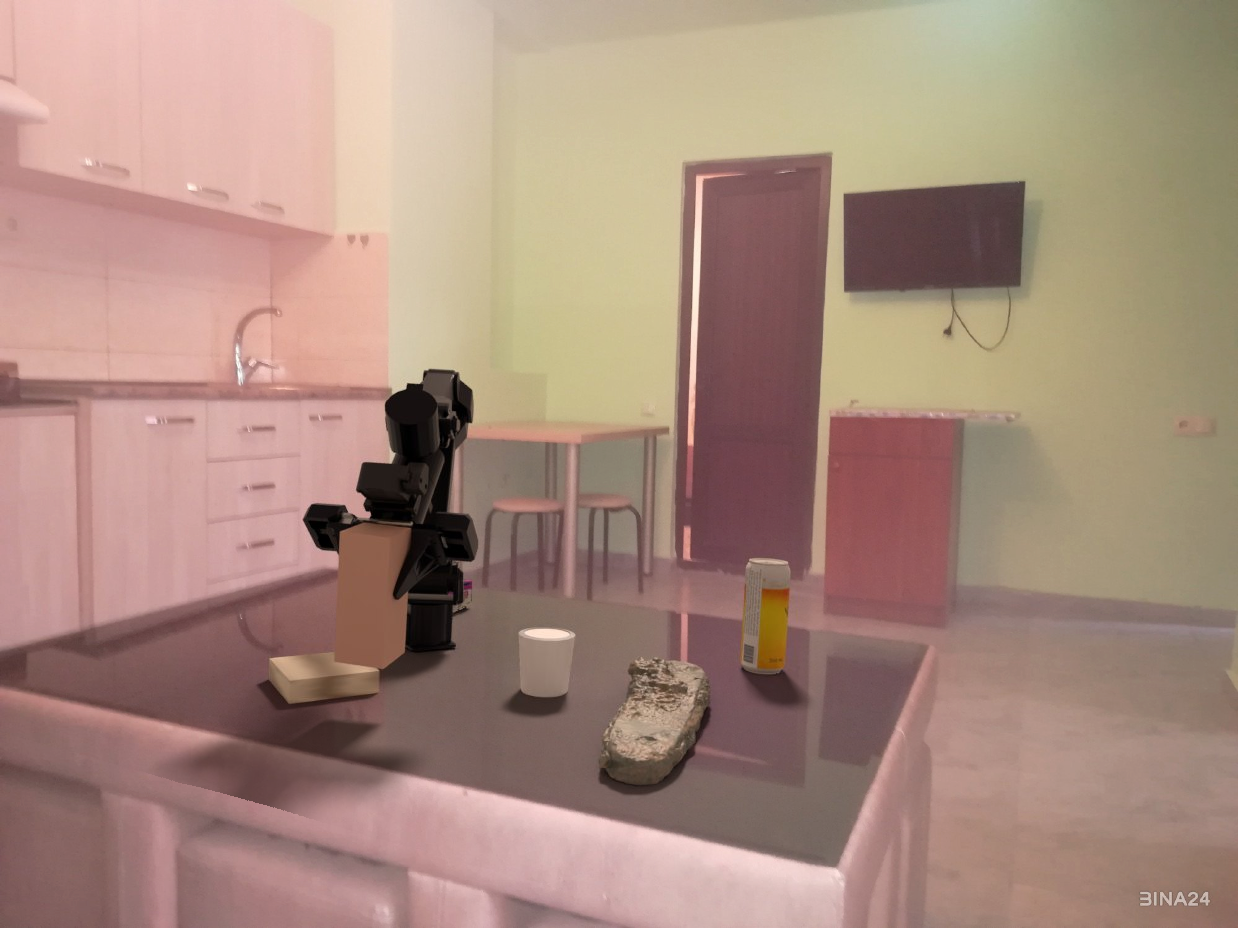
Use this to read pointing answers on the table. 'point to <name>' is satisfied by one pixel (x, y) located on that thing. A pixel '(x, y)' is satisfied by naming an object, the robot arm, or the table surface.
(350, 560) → the terracotta post
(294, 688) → the birch block
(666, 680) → the elongated rock
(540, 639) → the white cup
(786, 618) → the beer can
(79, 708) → the table surface
